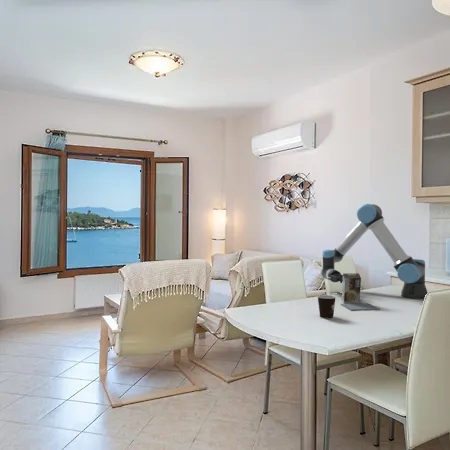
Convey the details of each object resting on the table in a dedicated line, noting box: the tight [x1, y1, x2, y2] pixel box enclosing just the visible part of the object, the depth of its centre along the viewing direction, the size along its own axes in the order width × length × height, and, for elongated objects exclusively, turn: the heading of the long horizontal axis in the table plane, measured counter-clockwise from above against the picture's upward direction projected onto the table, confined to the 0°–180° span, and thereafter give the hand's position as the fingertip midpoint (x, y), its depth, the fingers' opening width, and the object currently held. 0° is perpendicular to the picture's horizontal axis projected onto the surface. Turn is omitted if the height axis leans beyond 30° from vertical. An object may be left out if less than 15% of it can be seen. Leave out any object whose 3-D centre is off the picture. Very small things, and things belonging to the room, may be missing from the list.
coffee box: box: [341, 272, 362, 304], centre depth 240 cm, size 9×6×16 cm
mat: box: [340, 302, 381, 312], centre depth 230 cm, size 16×14×1 cm
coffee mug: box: [317, 294, 337, 319], centre depth 209 cm, size 12×9×10 cm
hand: (347, 281), depth 244 cm, fingers closed
